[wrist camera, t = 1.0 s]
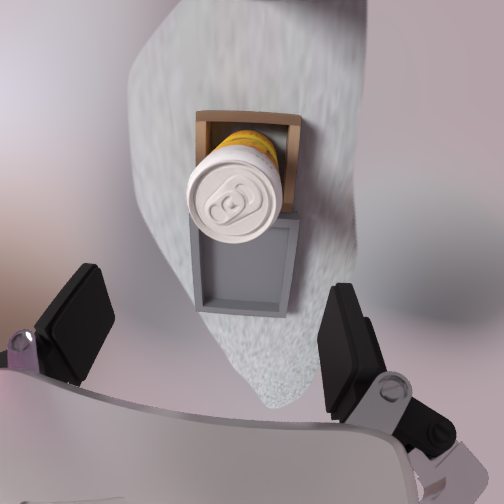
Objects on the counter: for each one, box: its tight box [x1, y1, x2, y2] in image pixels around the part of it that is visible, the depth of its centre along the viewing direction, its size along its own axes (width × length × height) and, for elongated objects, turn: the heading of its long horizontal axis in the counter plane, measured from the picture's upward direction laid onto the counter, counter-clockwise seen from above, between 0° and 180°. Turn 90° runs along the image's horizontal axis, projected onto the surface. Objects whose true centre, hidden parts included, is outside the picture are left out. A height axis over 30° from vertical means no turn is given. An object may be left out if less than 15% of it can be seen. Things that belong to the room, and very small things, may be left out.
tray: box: [189, 211, 300, 318], centre depth 35 cm, size 14×12×2 cm
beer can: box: [186, 130, 283, 244], centre depth 23 cm, size 6×6×15 cm
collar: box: [196, 111, 301, 213], centre depth 29 cm, size 10×10×3 cm
